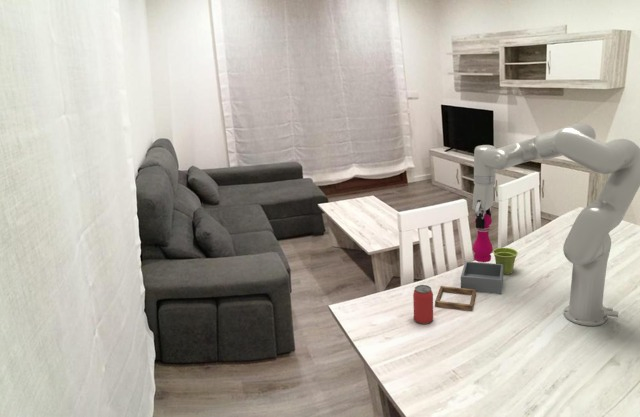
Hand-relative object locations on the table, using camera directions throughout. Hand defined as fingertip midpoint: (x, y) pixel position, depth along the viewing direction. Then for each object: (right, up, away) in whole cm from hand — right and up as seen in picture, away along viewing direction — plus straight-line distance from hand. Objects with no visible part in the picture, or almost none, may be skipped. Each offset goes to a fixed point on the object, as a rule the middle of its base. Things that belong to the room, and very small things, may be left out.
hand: (483, 225), depth 182 cm
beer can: (-26, -33, -15) cm, 44 cm away
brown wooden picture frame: (-11, -28, -4) cm, 30 cm away
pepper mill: (+1, -14, +4) cm, 14 cm away
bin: (+2, -23, +7) cm, 24 cm away
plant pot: (+14, -20, +16) cm, 29 cm away
